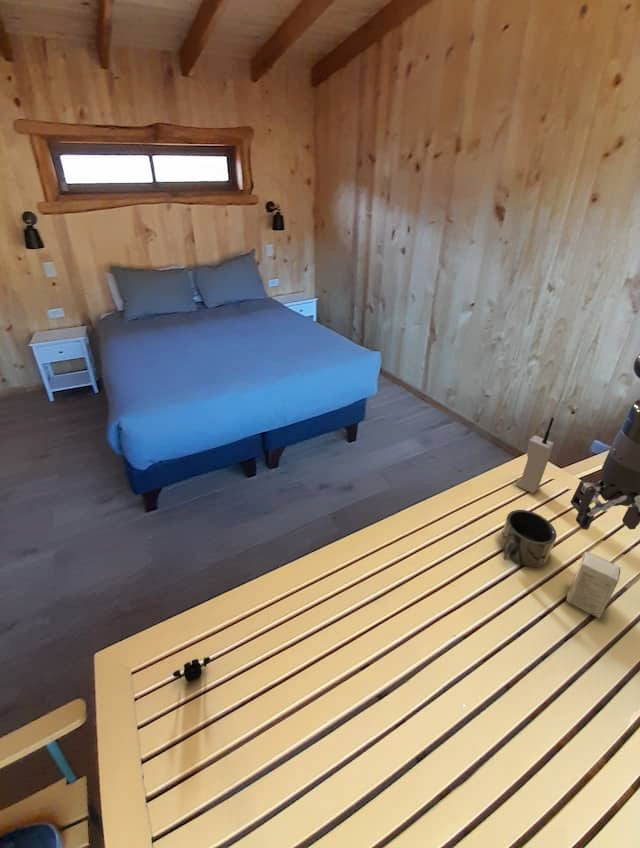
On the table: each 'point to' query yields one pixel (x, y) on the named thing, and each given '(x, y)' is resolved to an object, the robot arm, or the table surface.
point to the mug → (527, 538)
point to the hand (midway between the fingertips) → (604, 525)
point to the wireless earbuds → (192, 669)
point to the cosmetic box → (593, 584)
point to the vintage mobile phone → (536, 461)
